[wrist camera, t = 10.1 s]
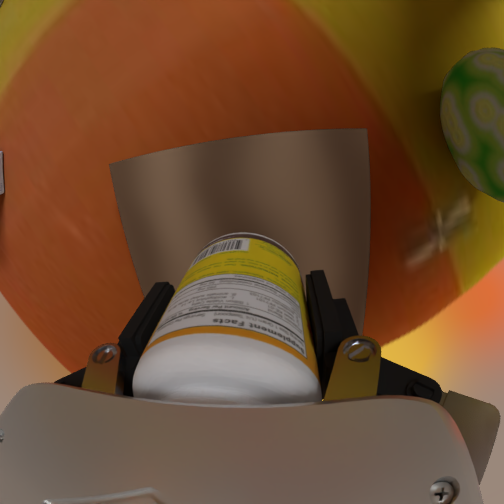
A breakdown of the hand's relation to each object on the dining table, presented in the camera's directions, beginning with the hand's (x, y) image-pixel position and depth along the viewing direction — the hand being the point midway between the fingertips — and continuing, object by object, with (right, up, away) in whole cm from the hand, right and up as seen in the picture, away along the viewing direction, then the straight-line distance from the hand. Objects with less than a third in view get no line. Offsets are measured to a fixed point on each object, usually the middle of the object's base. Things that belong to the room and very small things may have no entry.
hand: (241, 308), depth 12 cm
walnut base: (0, +3, +8) cm, 8 cm away
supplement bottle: (0, +1, +3) cm, 3 cm away
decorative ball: (+16, +12, +3) cm, 21 cm away
